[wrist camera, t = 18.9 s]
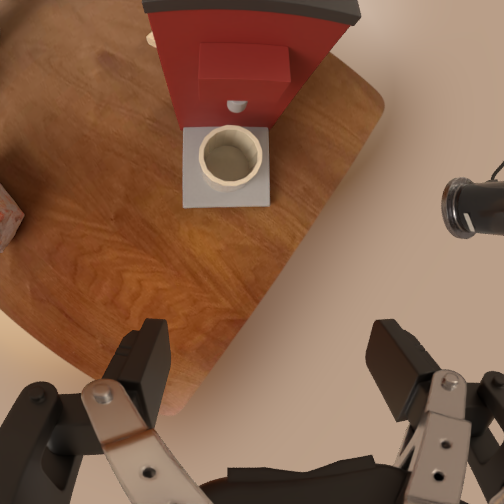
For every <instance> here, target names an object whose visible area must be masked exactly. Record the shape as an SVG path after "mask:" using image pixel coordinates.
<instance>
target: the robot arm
mask: <svg viewBox="0 0 504 504" xmlns="http://www.w3.org/2000/svg"><path fill="white" fill-rule="evenodd" d="M503 166H504V161H503V163H502V164H501V165H500V166H499V167H498V168H497V169H496V171H495V172H494V173H493V175H492V177H491V180H489V181H486V182H485V183H472V184H468V183H466V184H460V185H459V186H458V187H457V188H456V189H455V191H454V193H453V195H452V200H451V212H452V217H453V220H454V223H455V225H456V226H457V228H458V229H459V230H461V231H462V232H466V233H471V232H472V233H483V234H493V235H503V236H504V181H497V180H494V178H495V176H496V174H497V173H498V172H499V171H500V170H501V169H502V168H503ZM365 358H366V365H367V367H368V369H369V371H370V372H371V374H372V376H373V378H374V380H375V382H376V384H377V386H378V388H379V390H380V391H381V393H382V395H383V397H384V399H385V401H386V403H387V405H388V407H389V408H390V411H391V413H392V415H393V416H394V418H395V420H396V422H400V421H405V420H408V421H409V422H410V423H409V425H408V427H407V429H406V432H405V435H404V438H403V441H402V444H401V447H400V450H399V452H398V455H397V458H396V460H395V463H394V465H393V466H390V465H386V464H375V462H374V459H373V456H372V455H368V456H363V457H358V458H352V459H346V460H340V461H337V462H334V463H332V464H329V465H326V466H324V467H320V468H318V469H315V470H312V471H308V472H294V471H287V470H279V469H272V468H266V467H261V468H228V475H227V477H224V478H219V479H216V480H212V481H209V482H207V483H204V484H202V485H200V486H198V485H197V484H196V483H195V482H194V481H193V480H192V478H191V477H190V476H189V475H188V473H187V472H186V471H185V470H184V469H183V467H182V466H181V464H180V463H179V462H178V461H177V459H176V458H175V457H174V456H173V454H172V453H171V451H170V450H169V449H168V447H167V446H166V445H165V443H164V442H163V441H162V439H161V438H160V436H159V435H158V433H157V432H156V431H155V430H154V427H155V423H156V419H157V416H158V412H159V408H160V404H161V400H162V396H163V392H164V389H165V385H166V381H167V378H168V374H169V370H170V365H171V351H170V343H169V335H168V326H167V321H166V320H165V319H149V318H147V319H145V321H144V323H143V325H142V327H141V329H140V331H136V330H132V331H131V332H130V333H128V334H127V335H126V336H125V337H123V339H122V341H121V343H120V345H119V348H117V350H116V352H115V355H114V356H113V358H112V360H111V362H110V363H109V365H108V367H107V369H106V371H105V373H104V375H103V377H102V379H98V380H95V381H92V382H90V383H89V384H87V385H86V386H85V387H84V389H83V390H82V393H79V394H58V392H57V389H56V388H55V387H54V386H53V385H52V384H50V383H48V382H35V383H32V384H30V385H28V386H26V387H25V388H24V389H23V390H22V392H21V393H20V395H19V397H18V398H17V400H16V401H15V403H14V405H13V406H12V408H11V410H10V411H9V413H8V415H7V417H6V418H5V420H4V422H3V424H2V425H1V427H0V504H70V500H71V496H72V492H73V488H74V485H75V482H76V478H77V475H78V471H79V468H80V465H81V461H82V458H83V455H96V454H97V455H98V454H105V456H106V458H107V460H108V462H109V464H110V465H111V468H112V470H113V472H114V474H115V475H116V477H117V479H118V481H119V483H120V484H121V486H122V488H123V490H124V492H125V493H126V495H127V497H128V498H129V500H130V502H131V503H132V504H468V503H466V502H464V501H462V500H460V498H461V493H462V489H463V484H464V478H465V473H466V467H467V461H468V463H469V465H470V467H471V469H472V471H473V473H474V475H475V477H476V479H477V481H478V484H479V486H480V488H481V490H482V492H483V494H484V496H485V498H486V501H487V503H488V504H504V441H503V443H502V445H501V446H499V444H498V442H497V441H496V439H495V437H494V436H493V434H492V433H491V431H490V430H489V428H488V427H489V425H490V424H491V422H492V421H493V419H494V418H495V419H496V421H497V422H498V424H499V425H500V427H501V428H502V430H503V432H504V374H502V373H500V372H495V371H489V372H487V373H485V374H484V377H483V378H482V380H481V382H480V383H466V381H465V379H464V378H463V377H462V376H461V375H460V374H458V373H457V372H455V371H452V370H442V369H441V368H440V367H439V366H438V364H437V363H436V362H435V361H434V359H433V358H432V357H431V356H430V355H429V353H428V352H427V351H425V348H424V347H423V346H422V345H420V342H419V341H418V340H417V339H416V338H415V336H413V335H412V334H410V333H409V332H407V331H406V330H403V329H402V328H401V327H400V326H399V324H398V323H397V322H396V321H395V320H394V319H383V320H376V321H375V322H374V324H373V327H372V331H371V335H370V339H369V343H368V346H367V350H366V356H365Z"/></svg>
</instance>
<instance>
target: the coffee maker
mask: <svg viewBox="0 0 504 504" xmlns="http://www.w3.org/2000/svg"><path fill="white" fill-rule="evenodd" d="M142 5H143V9H144V12H145V13H147V14H148V17H149V21H150V25H151V29H152V32H153V36H154V40H155V43H156V47H157V51H158V54H159V58H160V61H161V65H162V69H163V72H164V76H165V79H166V83H167V86H168V89H169V93H170V96H171V100H172V103H173V106H174V110H175V113H176V117H177V120H178V123H179V127H180V130H183V208H209V207H268V206H270V177H269V135H268V130H270V129H271V128H272V126H273V125H274V124H275V122H276V121H277V120H278V118H279V117H280V115H281V114H282V113H283V111H284V110H285V109H286V107H287V106H288V105H289V103H290V102H291V101H292V99H293V98H294V97H295V95H296V94H297V93H298V91H299V90H300V89H301V87H302V86H303V85H304V83H305V82H306V81H307V80H308V78H309V77H310V76H311V74H312V73H313V72H314V70H315V69H316V68H317V67H318V65H319V64H320V63H321V62H322V60H323V59H324V58H325V56H326V55H327V54H328V53H329V51H330V50H331V49H332V48H333V46H334V45H335V44H336V43H337V42H338V40H339V39H340V38H341V37H342V35H343V34H344V33H345V32H346V31H347V29H348V28H349V27H350V26H354V25H355V24H356V23H357V22H358V20H359V19H360V18H361V13H360V9H359V5H358V1H357V0H142ZM224 125H236V126H240V127H243V128H245V129H247V130H249V131H250V132H251V133H252V134H253V135H254V136H255V137H256V138H257V139H258V141H259V143H260V146H261V148H262V164H261V166H260V168H259V170H258V173H257V174H256V175H255V176H254V177H253V178H252V179H251V180H249V181H248V182H247V183H246V184H245V185H244V186H243V187H242V188H241V189H238V190H236V191H233V192H228V193H225V192H219V191H216V190H214V189H212V188H211V187H210V186H208V185H207V183H206V182H205V181H204V179H203V177H202V174H201V170H200V164H199V148H200V146H201V144H202V142H203V140H204V138H205V136H207V135H208V134H209V133H210V132H211V131H212V130H214V129H216V128H219V127H221V126H224Z"/></svg>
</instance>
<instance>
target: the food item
mask: <svg viewBox="0 0 504 504" xmlns="http://www.w3.org/2000/svg"><path fill="white" fill-rule="evenodd" d="M23 217H24V213H23V212H22V211H21V209H20V208H19V207H18V205H17V204H16V202H15V201H14V200H13V199H12V198H11V196H10V195H9V194H8V193H7V192H6V190H5V189H4V188H3V186H2V185H1V183H0V253H2V252H3V251H4V249H5V247H6V246H7V245H8V244H9V242H10V241H11V240H12V239H13V237H14V235H15V234H16V230H17V229H18V227H19V225H20V224H21V221H22V219H23Z"/></svg>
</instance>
